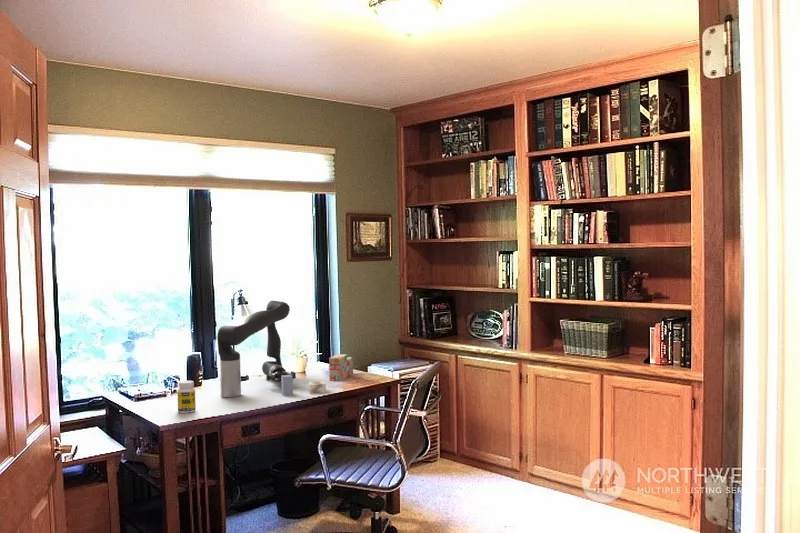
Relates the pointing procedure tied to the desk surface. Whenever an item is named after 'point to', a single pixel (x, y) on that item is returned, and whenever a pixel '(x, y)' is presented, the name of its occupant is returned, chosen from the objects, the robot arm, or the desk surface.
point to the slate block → (287, 384)
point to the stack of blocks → (340, 367)
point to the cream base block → (317, 387)
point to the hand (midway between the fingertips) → (283, 378)
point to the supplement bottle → (186, 397)
